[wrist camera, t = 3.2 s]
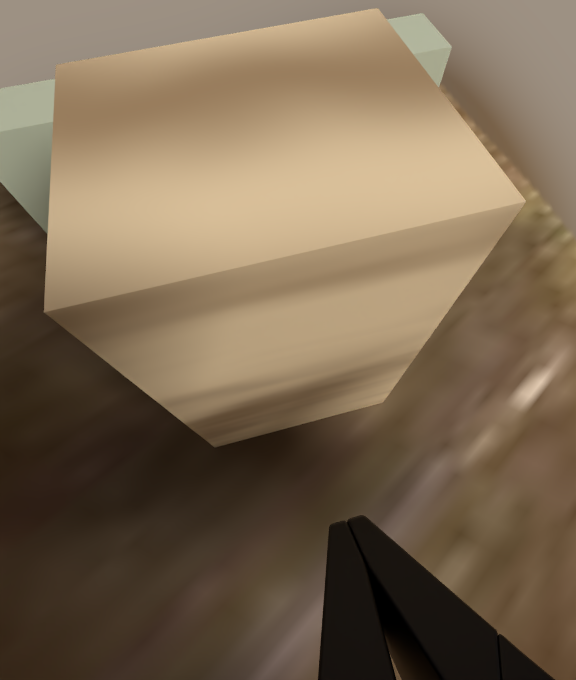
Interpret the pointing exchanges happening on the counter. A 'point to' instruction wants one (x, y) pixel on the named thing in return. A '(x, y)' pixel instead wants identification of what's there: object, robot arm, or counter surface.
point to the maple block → (264, 219)
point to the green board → (38, 107)
